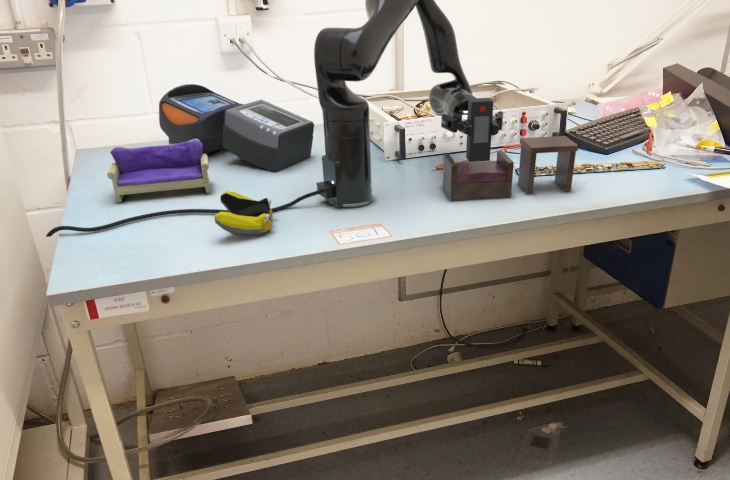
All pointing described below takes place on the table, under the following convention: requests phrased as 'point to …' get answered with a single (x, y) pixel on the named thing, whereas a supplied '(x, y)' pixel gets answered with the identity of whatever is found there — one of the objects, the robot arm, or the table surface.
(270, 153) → the diagnostic device
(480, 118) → the slim remote
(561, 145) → the walnut shelf
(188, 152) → the toy sofa
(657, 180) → the table surface
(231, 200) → the yellow bananas
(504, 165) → the cushioned bench
